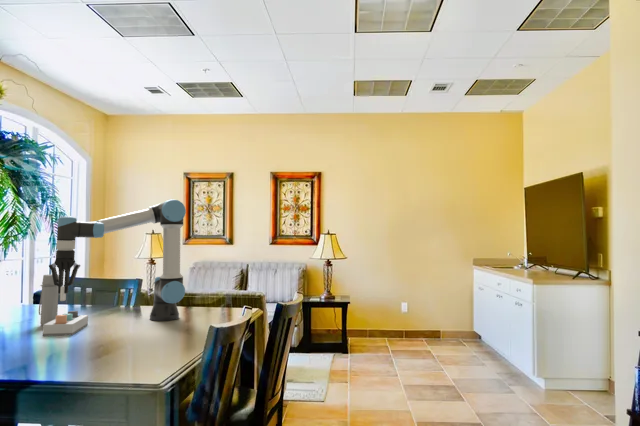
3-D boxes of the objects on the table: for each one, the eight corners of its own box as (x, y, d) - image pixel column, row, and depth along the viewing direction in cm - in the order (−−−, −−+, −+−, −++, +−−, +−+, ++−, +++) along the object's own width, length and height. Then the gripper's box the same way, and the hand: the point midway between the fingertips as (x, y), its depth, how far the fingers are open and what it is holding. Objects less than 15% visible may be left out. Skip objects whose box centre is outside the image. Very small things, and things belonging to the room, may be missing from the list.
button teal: (73, 323, 207) (73, 313, 207) (70, 325, 202) (70, 315, 203) (63, 324, 206) (63, 313, 206) (59, 326, 201) (60, 315, 202)
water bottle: (60, 323, 219) (63, 274, 221) (49, 326, 211) (52, 275, 213) (44, 322, 220) (46, 274, 221) (32, 326, 212) (35, 275, 214)
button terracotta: (67, 325, 199) (68, 314, 200) (64, 327, 195) (64, 316, 195) (57, 325, 198) (57, 314, 199) (53, 327, 194) (54, 316, 194)
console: (87, 325, 216) (88, 315, 216) (72, 335, 194) (72, 324, 195) (61, 325, 213) (61, 315, 214) (42, 336, 192) (43, 324, 192)
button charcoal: (78, 320, 214) (79, 310, 214) (75, 322, 210) (76, 312, 210) (69, 321, 213) (69, 311, 213) (65, 322, 209) (66, 312, 209)
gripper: (83, 249, 206) (80, 299, 204) (53, 249, 203) (50, 299, 202) (77, 250, 198) (74, 301, 197) (46, 249, 196) (43, 301, 195)
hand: (62, 300), depth 200 cm, fingers closed
